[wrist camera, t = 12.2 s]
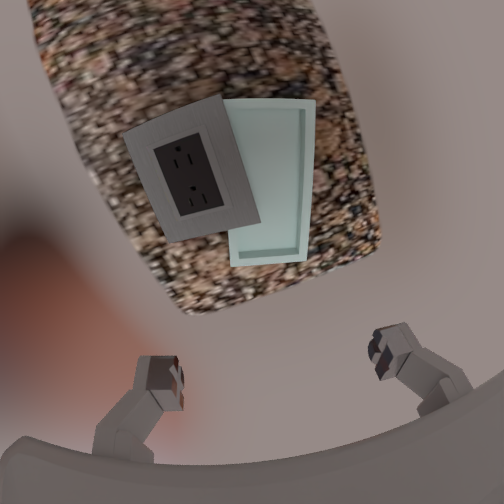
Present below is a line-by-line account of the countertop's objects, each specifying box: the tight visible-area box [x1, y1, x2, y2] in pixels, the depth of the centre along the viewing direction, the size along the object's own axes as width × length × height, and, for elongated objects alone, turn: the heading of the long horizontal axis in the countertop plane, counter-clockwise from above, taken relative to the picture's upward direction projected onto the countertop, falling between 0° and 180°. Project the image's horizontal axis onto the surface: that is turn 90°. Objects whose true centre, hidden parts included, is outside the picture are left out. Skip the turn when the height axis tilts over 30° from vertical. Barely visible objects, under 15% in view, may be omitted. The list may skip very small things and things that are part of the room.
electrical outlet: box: [122, 94, 261, 243], centre depth 26 cm, size 13×10×2 cm
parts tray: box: [223, 98, 316, 267], centre depth 29 cm, size 18×9×2 cm, turn 1°
